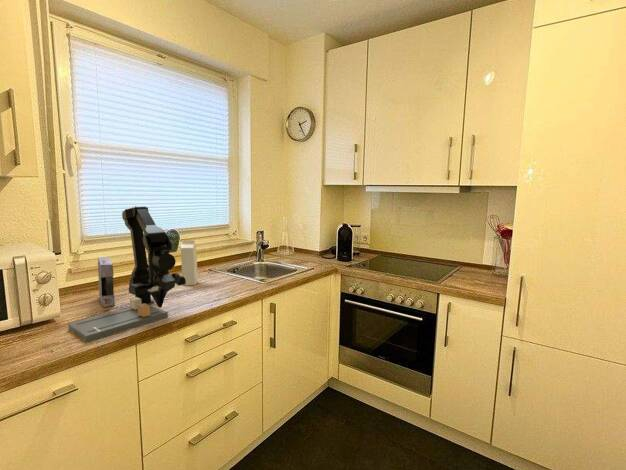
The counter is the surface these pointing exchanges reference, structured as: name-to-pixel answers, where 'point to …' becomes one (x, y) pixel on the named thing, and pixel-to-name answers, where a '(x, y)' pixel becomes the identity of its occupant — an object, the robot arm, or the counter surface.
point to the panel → (114, 323)
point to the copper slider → (143, 310)
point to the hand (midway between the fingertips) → (159, 307)
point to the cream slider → (135, 302)
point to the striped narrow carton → (106, 282)
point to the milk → (189, 262)
